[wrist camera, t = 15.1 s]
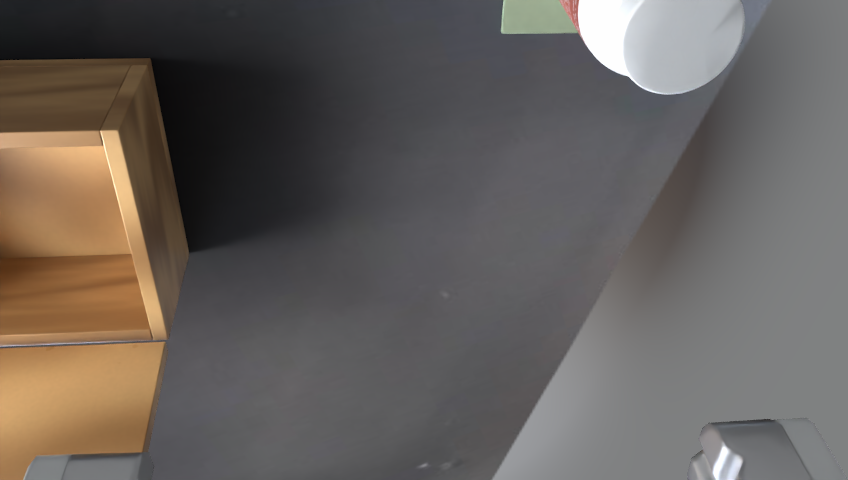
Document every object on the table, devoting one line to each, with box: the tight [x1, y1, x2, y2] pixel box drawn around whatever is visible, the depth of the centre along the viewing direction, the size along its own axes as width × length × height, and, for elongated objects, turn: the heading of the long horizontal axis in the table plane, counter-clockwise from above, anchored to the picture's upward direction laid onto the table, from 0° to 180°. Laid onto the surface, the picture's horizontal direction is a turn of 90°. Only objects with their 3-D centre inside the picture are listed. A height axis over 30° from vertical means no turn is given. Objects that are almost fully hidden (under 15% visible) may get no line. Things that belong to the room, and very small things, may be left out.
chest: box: [0, 58, 189, 346], centre depth 41 cm, size 13×14×7 cm
